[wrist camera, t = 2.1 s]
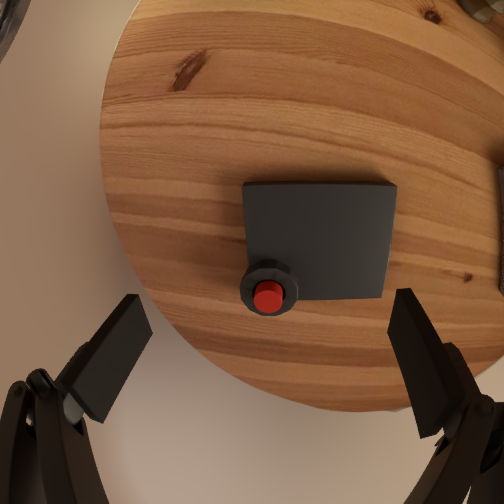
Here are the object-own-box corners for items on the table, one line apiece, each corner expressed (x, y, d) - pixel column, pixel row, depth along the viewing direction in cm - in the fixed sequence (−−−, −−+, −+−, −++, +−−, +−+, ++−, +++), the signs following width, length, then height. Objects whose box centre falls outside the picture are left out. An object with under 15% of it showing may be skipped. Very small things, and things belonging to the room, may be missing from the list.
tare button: (256, 302, 27) (254, 313, 25) (254, 280, 26) (252, 290, 24) (282, 302, 27) (282, 313, 25) (282, 279, 26) (282, 290, 24)
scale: (246, 298, 30) (242, 315, 27) (235, 182, 25) (229, 190, 22) (377, 296, 28) (384, 312, 26) (392, 182, 23) (404, 189, 20)
